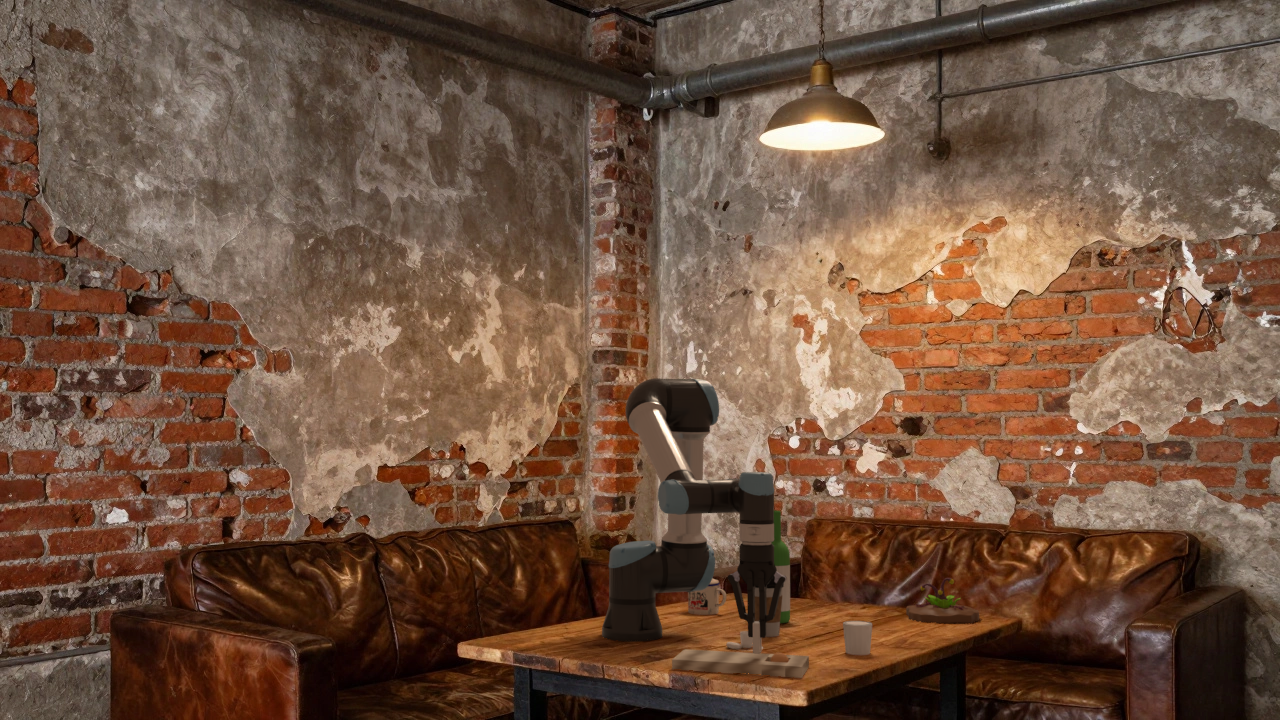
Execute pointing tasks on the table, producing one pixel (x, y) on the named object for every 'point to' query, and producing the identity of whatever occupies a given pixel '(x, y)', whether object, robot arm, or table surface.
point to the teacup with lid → (706, 599)
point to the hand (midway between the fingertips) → (757, 652)
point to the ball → (779, 658)
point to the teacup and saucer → (742, 641)
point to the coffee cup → (774, 624)
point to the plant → (942, 608)
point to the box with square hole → (740, 663)
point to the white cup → (857, 637)
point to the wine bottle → (782, 566)
